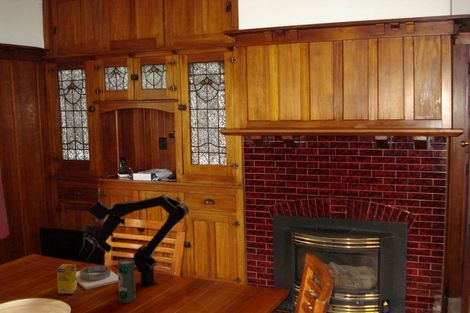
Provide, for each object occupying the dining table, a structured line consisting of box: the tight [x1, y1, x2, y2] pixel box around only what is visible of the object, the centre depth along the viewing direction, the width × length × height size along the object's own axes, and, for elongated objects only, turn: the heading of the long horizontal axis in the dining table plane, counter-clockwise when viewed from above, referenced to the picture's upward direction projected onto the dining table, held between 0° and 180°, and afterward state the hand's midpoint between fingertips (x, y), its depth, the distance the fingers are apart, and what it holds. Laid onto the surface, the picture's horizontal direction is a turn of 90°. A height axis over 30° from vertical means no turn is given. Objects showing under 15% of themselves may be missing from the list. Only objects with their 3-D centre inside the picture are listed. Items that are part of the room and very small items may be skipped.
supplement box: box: [56, 263, 78, 296], centre depth 208 cm, size 6×6×11 cm
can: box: [117, 259, 137, 304], centre depth 199 cm, size 6×6×15 cm
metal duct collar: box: [79, 265, 112, 281], centre depth 225 cm, size 12×12×2 cm
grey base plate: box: [76, 270, 118, 290], centre depth 225 cm, size 22×16×1 cm
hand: (83, 258), depth 211 cm, fingers open, 9 cm apart
